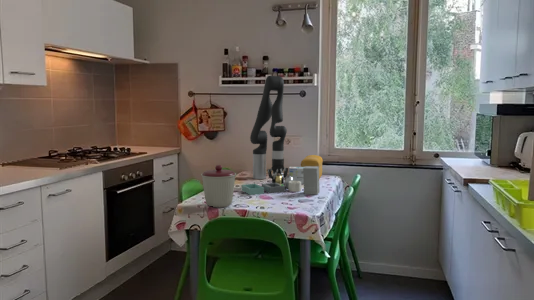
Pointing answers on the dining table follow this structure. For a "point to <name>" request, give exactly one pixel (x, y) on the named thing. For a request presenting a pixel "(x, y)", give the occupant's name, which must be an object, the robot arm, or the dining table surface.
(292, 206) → the dining table surface
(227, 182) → the canister
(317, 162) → the bread
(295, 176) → the light bulb box
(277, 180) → the brass cell
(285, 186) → the grey cell
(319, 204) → the dining table surface
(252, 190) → the trough
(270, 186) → the block
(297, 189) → the white cup
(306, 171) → the skincare box
